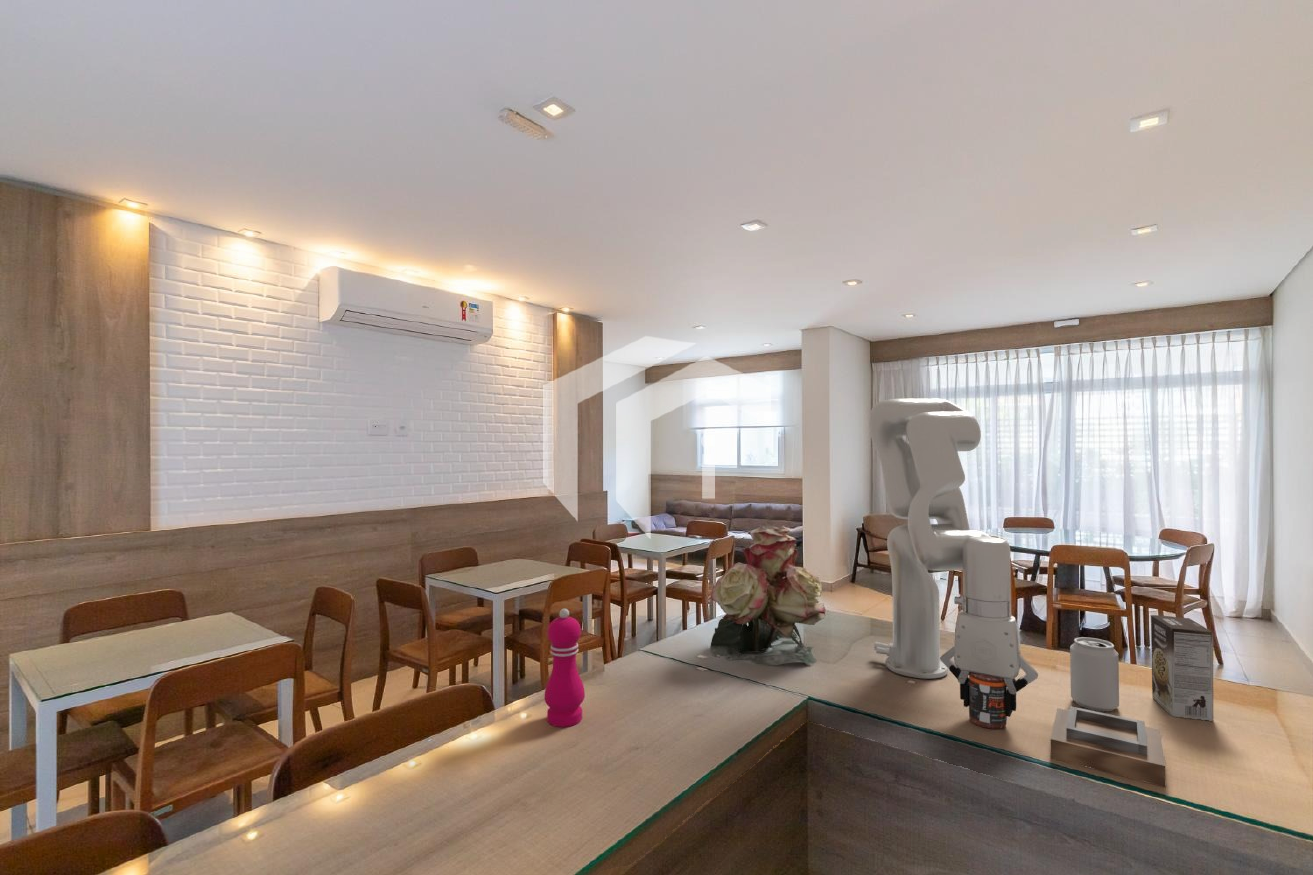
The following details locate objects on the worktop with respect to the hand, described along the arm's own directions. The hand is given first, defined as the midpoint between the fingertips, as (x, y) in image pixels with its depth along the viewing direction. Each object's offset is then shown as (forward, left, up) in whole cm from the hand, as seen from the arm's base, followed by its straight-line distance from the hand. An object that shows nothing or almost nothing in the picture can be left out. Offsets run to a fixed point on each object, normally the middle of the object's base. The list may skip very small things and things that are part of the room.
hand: (987, 707), depth 110 cm
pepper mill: (-62, -43, -3) cm, 76 cm away
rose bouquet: (-49, +13, -3) cm, 50 cm away
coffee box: (+28, +27, -3) cm, 39 cm away
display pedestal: (+17, -1, -3) cm, 17 cm away
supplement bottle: (0, 0, -3) cm, 3 cm away
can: (+15, +20, -3) cm, 25 cm away
